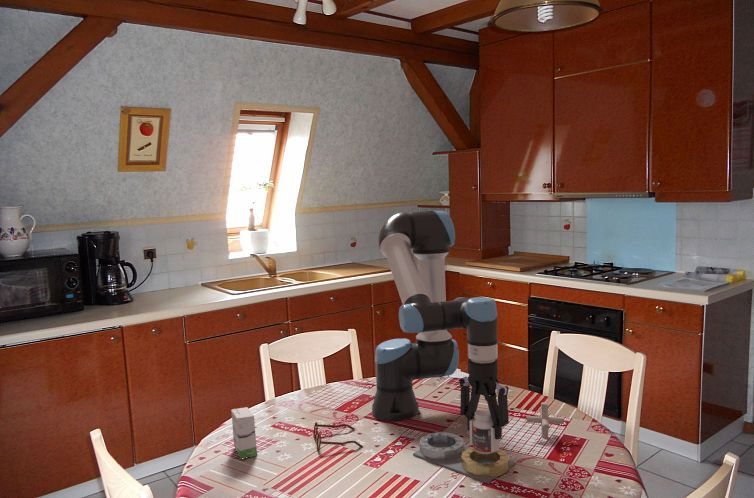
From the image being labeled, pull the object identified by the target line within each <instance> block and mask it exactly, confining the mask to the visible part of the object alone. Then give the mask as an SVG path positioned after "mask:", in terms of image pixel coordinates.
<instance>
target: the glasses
mask: <svg viewBox="0 0 754 498" xmlns="http://www.w3.org/2000/svg"><path fill="white" fill-rule="evenodd" d="M319 427H320V428H332V429H337V428H338V429H339V428H341V427H342V428H343V427H347V428H348V429H351V430H352V431H355V430H354V429H356V428H355V427H353V426H351V425H349V424H343V423H342V424H338V425H335V424H334V425H332V424H322V423H321V424H318V422H317V421H315V422H314V426H313V439H314V440H316V451H317V452H320V450H321V445H333V446H336V445H337V446H345V445H347V444H355V445H356V446H358V447H360V448H364V446H363V444H361V443H360V442H357V441H356V440H347V441H343V442H339V441H337V442H336V441H324V440H322V433H320V432H319V429H318V428H319Z"/></svg>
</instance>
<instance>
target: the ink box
mask: <svg viewBox="0 0 754 498" xmlns="http://www.w3.org/2000/svg"><path fill="white" fill-rule="evenodd" d="M231 423H232V435H233V448H234V447H235V449H236V450H235V449H234V450H235V452H236V451H237V452H236V454H237V453H238V454H237V455H238V457H239V456H240V457H239V458H241V459H242V458H246V457H250V458H253V456H254V457H257V456H258V448H257V438H256V436H257V435H256V424H255V415H254V414H253V413H252V412H251V410H250V408H249V407H248V406H245V407H240V408H232V409H231ZM256 455H257V456H256ZM241 459H240V460H241ZM246 459H247V458H246ZM242 460H243V459H242Z"/></svg>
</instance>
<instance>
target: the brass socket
mask: <svg viewBox="0 0 754 498" xmlns="http://www.w3.org/2000/svg"><path fill="white" fill-rule="evenodd" d="M470 447H471V448H468V449H467V450H465V451H463V452H462V456H461V467H462V468H463V469H464V470H465V471H466V472H467V473H470V474H473V475H475V476H482V477H493V476H497V477H500V476H502V475H503V474H505V473H506V472H508V471H509V469H508V460H509V454H507V453H506V451H504V450H503V449H498V450H497V451H495V452H493V453H490V454H480V453H477V452H476V451H475V450H474V448H473V447H472V446H470ZM481 458H484V459H492V460H495V461H497V462H494V463H489V464H486V463H478V462H475V461H473V460H476V459H481Z"/></svg>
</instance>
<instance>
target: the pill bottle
mask: <svg viewBox="0 0 754 498" xmlns="http://www.w3.org/2000/svg"><path fill="white" fill-rule="evenodd" d="M474 418H476V419H475V420H474V422H473V445H472V446H473V448H474V450H475V451H476V452H477V453H480V454H490V453H493V452H491V426H493V422H492V418H491V415H490V411H489V409H477V410H476V411H475V417H474Z"/></svg>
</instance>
